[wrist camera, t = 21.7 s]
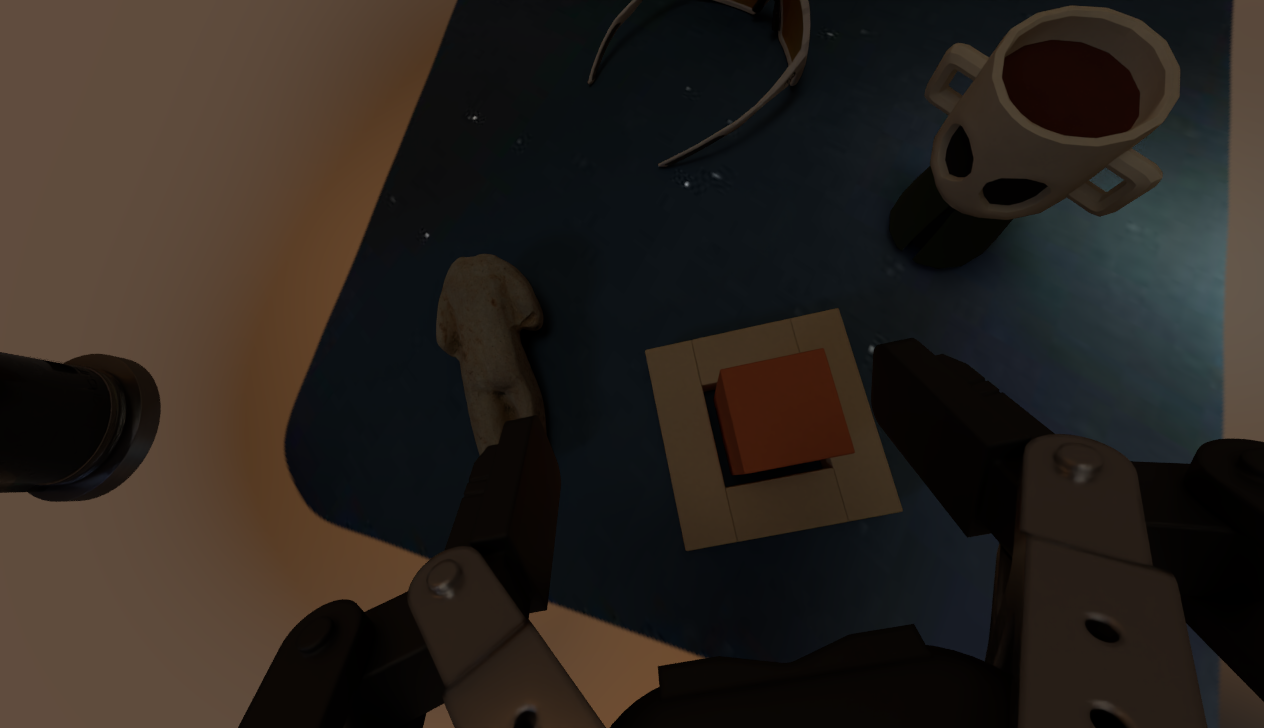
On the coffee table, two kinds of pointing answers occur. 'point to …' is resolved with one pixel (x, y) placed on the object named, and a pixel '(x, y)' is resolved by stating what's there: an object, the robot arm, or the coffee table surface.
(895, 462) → the coffee table surface
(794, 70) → the sunglasses
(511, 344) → the sculpture
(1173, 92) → the character mug
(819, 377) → the post
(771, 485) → the base pad
